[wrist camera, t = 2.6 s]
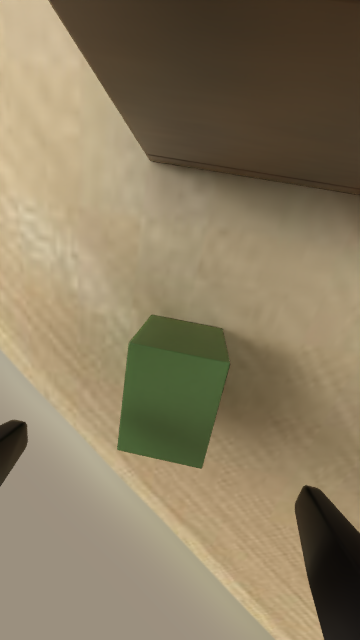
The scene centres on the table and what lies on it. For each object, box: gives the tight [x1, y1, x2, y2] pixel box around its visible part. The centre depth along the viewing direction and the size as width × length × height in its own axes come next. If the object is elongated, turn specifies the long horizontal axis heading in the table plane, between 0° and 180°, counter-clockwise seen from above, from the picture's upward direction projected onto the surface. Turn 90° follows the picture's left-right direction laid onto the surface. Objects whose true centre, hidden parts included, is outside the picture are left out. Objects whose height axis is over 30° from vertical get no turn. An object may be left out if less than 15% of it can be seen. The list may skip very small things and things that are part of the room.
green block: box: [117, 315, 230, 469], centre depth 12 cm, size 6×4×4 cm
